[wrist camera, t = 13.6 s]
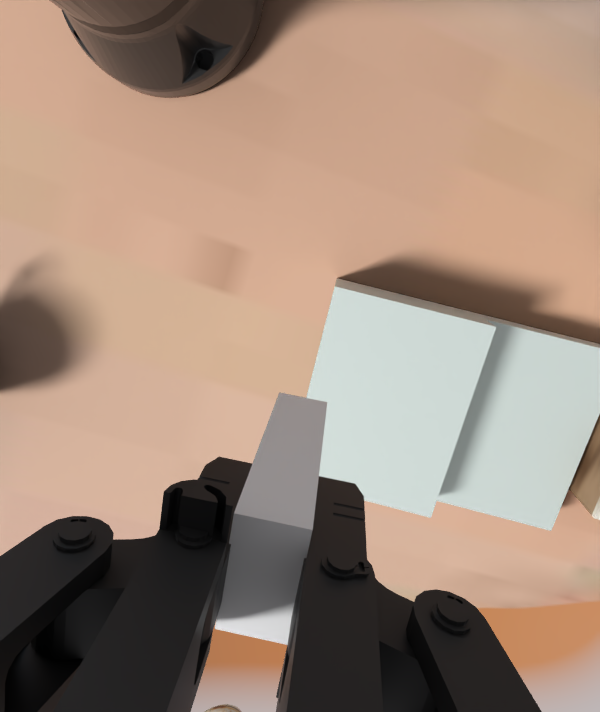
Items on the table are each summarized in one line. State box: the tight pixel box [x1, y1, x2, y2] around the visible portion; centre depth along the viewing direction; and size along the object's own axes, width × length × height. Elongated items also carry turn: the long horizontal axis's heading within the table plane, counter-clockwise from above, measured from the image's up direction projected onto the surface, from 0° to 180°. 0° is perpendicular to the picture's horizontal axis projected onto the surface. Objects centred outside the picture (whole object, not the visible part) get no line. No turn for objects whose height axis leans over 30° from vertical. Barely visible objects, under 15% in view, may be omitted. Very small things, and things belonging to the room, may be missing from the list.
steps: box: [306, 278, 600, 531], centre depth 43 cm, size 16×23×6 cm
